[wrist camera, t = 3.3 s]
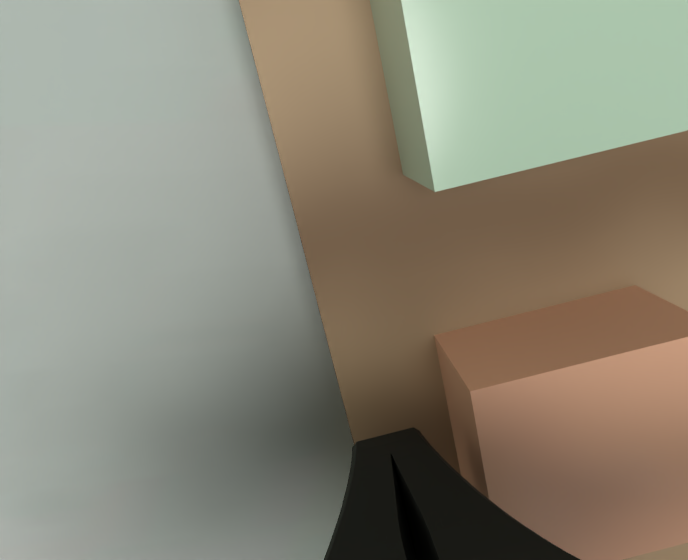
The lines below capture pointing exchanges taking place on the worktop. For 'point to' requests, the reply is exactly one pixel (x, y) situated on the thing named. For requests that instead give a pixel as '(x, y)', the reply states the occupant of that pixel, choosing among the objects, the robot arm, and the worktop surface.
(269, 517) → the worktop surface
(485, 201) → the walnut board
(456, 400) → the terracotta tile
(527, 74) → the sage tile
